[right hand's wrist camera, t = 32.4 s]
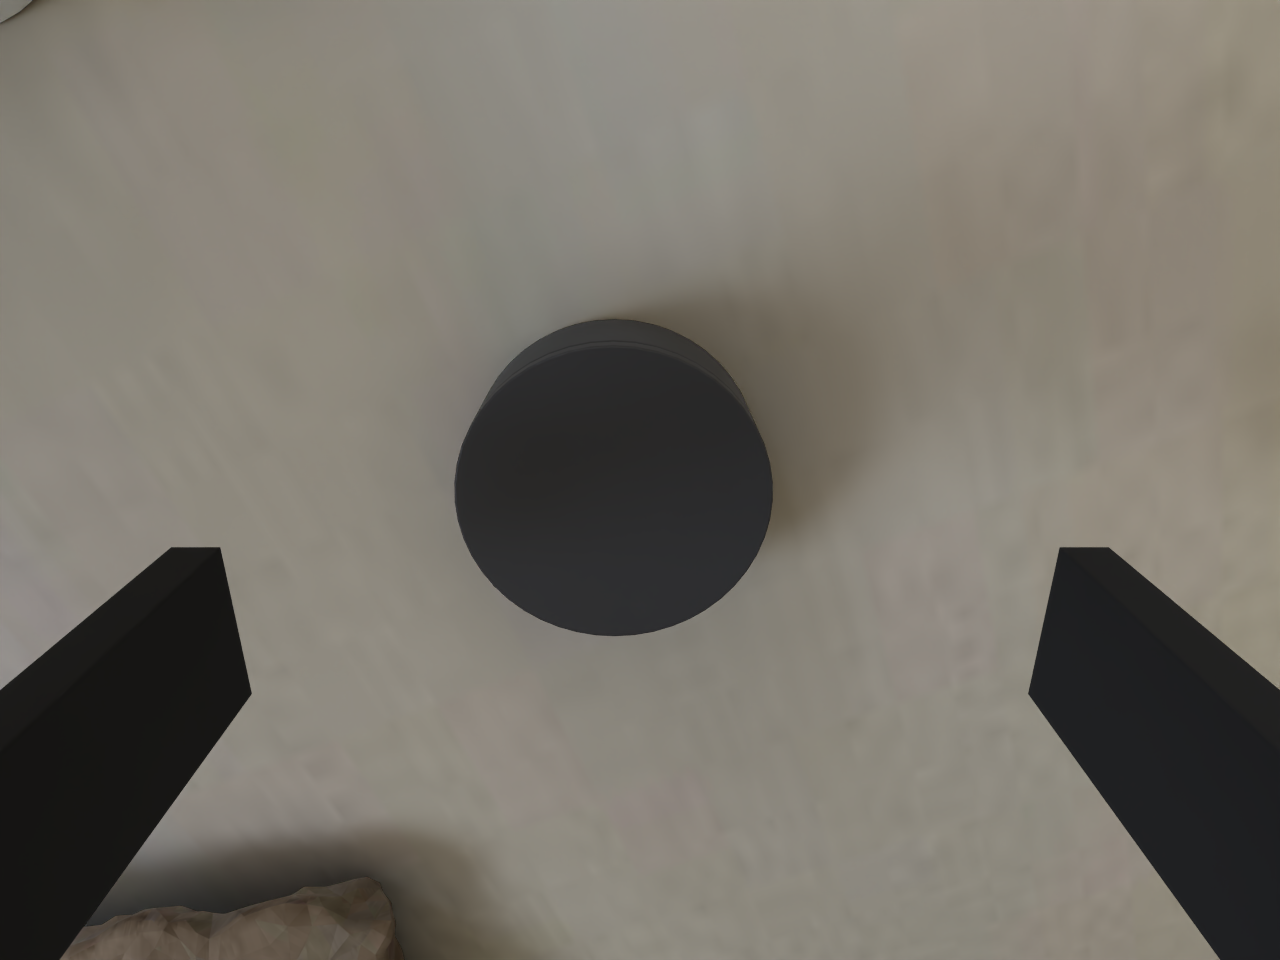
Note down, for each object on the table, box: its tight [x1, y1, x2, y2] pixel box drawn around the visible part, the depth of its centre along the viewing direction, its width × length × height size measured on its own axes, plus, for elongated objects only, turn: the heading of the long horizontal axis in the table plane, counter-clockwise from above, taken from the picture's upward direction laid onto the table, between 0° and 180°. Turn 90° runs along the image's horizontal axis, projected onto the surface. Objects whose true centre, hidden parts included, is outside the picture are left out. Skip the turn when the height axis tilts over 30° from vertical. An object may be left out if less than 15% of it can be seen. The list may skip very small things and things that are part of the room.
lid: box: [455, 319, 773, 636], centre depth 17 cm, size 6×6×2 cm
